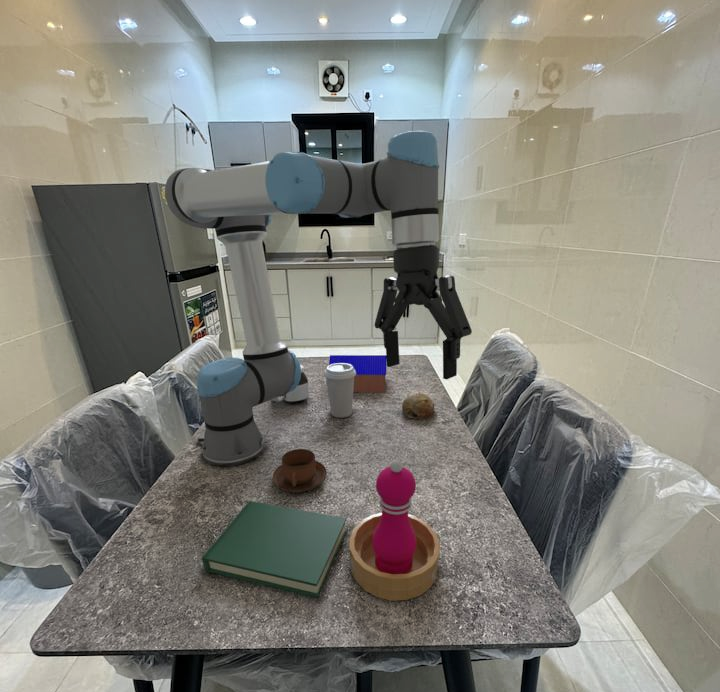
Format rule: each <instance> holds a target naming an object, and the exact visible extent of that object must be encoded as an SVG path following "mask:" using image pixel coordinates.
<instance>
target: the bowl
mask: <svg viewBox="0 0 720 692" xmlns="http://www.w3.org/2000/svg"><path fill="white" fill-rule="evenodd" d="M381 518H382V512H379V513H375V514H371V515H369V516H367V517H366V518H364V519H362V520H361V521H359V522H358V523H357V525H356V526H355V527H354V528H353V529H352V532H351V534H350V536H349V563H350V564H349V565H350V566H349V567H350V568H349V569H350V572H351V574H352V576H353V579H354V581H355V582H356V583H357V584H358V585H359V586H360V587H361V588H362V589H363V591H365V592H367V593H369V594H370V595H372V596H374V597H376V598H380V599H384V600H388V601H392V602H393V601H408V600H410V599H413V598H416V597H419V596H422V595H423V594H424V593H425V592H427V591H428V590H429V589H430V588H432V586H433V585H434V582H435V581H436V580H437V577H438V572H439V571H438V570H439V562H440V550H441V544H440V540H439V537H438V534H437V532H436V531H435V530H434V529H433V528H432V526H430V524H429V523H427V522H426V521H424V520H423V519H421V517H417V516H415V515H412V514H410V513H408V518H409V522H410V524H411V526H412V528H413V530H414V533H415V536H416V550H415V553H414V554H413V562H412V568H411V569H410V571H409V572H408V573H407V574H389V573H384V572H380V571H379V570H378V568H377V566H376V564H375V552H374V550H373V546H372V540H373V534H374V532H375V529H376V527H377V526H378V524H379V523H380V521H381Z"/></svg>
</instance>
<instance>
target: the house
mask: <svg viewBox="0 0 720 692" xmlns="http://www.w3.org/2000/svg"><path fill="white" fill-rule="evenodd" d="M335 363H347V364H351V365H352V366H353V368H354V369H355V371H356V375H355V376H354V390H353V393H386V376H387V358H386V354H385V355H384V354H383V355H375V354H374V355H369V354H367V355H366V354H365V355H363V354H362V355H360V354H359V355H358V354H355V355H353V354H349V355H348V354H330V355H329V362H328V365H331V364H335Z"/></svg>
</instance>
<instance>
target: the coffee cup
mask: <svg viewBox="0 0 720 692" xmlns="http://www.w3.org/2000/svg"><path fill="white" fill-rule="evenodd" d="M355 375H356V371H355V369H354V368H353V366H352V365H351V364H347V363H335V364H331V365H329V364H328V365H327V366H326V368H325V370H324V373H323V376H324V377H325V381H326V387H327V394H328V400H329V401H328V403H329V408H330V414H331V416H333V417H335V418H339V419H340V418H348V417H349V416H351V415H352V414H353V405H354V404H353V403H354V392H353V390H354V376H355Z"/></svg>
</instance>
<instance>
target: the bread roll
mask: <svg viewBox="0 0 720 692" xmlns="http://www.w3.org/2000/svg"><path fill="white" fill-rule="evenodd" d="M401 408H402V412H403V414H404V416H406V417H407V418H409V419H415V420H428V419H431V418H432V417H433V416H434V413H435V402H434V400H433V399H432V398H431V397H430V396H428V395H427V394H425V393H422V392H418V393H415V394H412V395H407V397H405V398H404V400H403V402H402V403H401Z"/></svg>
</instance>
